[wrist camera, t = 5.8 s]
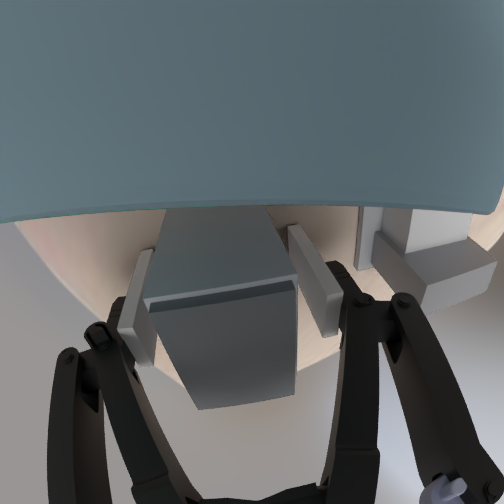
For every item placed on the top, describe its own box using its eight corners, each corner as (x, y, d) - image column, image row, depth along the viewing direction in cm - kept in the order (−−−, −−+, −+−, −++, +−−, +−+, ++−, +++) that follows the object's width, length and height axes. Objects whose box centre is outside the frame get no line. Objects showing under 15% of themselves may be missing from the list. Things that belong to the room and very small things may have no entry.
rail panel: (346, -21, 9) (378, -40, 6) (443, 9, 10) (479, 5, 7) (354, 266, 20) (377, 297, 16) (434, 248, 20) (460, 272, 17)
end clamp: (374, 231, 18) (427, 285, 12) (445, 219, 18) (497, 260, 13) (370, 262, 19) (415, 319, 14) (439, 247, 19) (485, 290, 14)
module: (163, 205, 15) (133, 310, 8) (256, 190, 16) (302, 282, 9) (190, 300, 19) (190, 412, 12) (265, 288, 19) (298, 395, 12)
